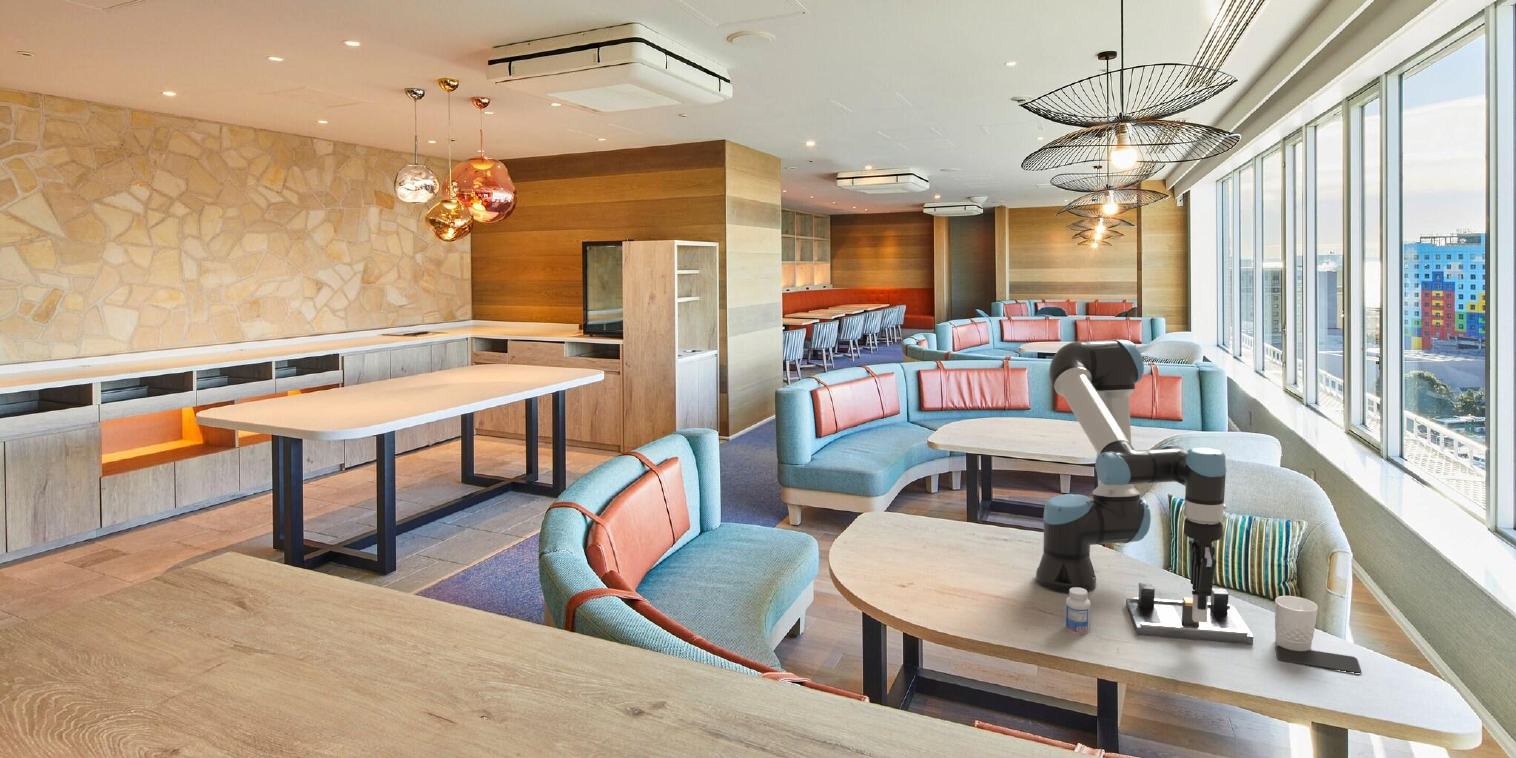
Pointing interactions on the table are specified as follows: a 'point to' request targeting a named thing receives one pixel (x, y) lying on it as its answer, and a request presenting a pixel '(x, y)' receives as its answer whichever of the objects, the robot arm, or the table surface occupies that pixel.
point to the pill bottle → (1078, 611)
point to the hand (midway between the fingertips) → (1199, 620)
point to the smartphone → (1319, 659)
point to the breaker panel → (1167, 618)
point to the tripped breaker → (1188, 612)
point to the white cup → (1294, 622)
